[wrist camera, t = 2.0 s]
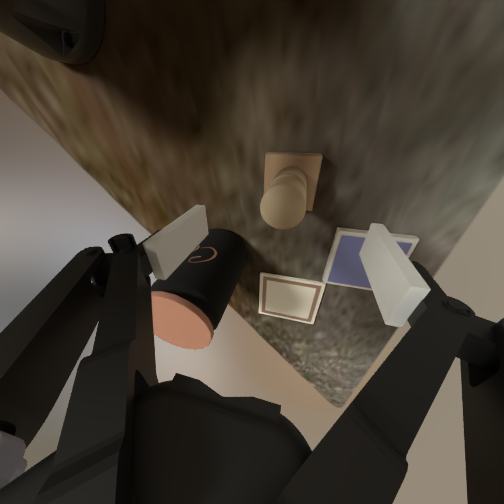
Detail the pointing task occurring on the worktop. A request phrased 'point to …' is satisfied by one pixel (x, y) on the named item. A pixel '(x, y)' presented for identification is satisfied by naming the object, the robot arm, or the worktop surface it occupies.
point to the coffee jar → (198, 291)
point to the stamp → (289, 187)
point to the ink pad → (355, 257)
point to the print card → (290, 297)
